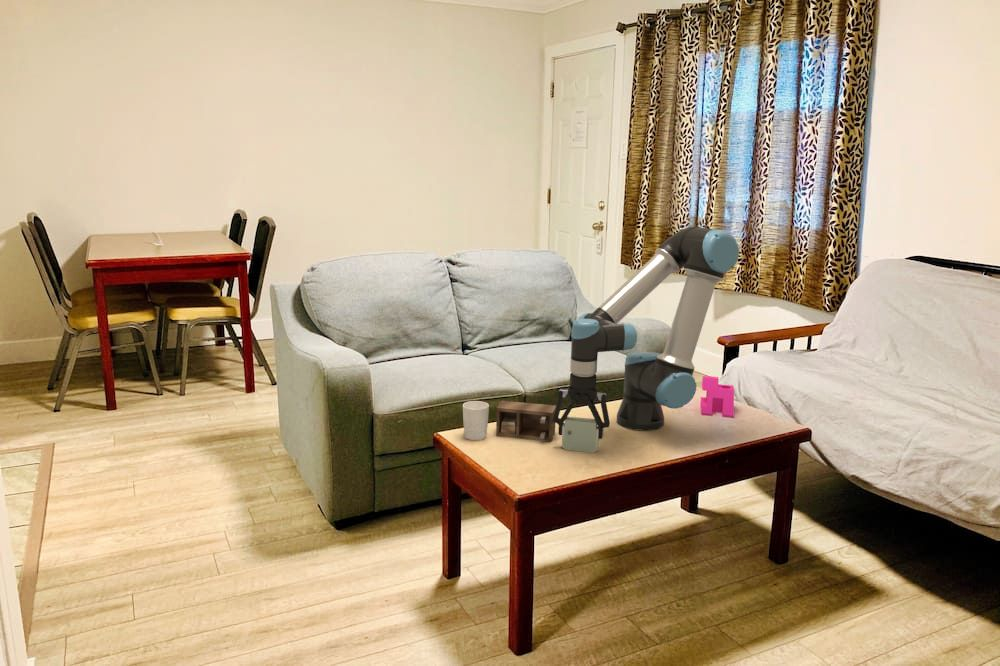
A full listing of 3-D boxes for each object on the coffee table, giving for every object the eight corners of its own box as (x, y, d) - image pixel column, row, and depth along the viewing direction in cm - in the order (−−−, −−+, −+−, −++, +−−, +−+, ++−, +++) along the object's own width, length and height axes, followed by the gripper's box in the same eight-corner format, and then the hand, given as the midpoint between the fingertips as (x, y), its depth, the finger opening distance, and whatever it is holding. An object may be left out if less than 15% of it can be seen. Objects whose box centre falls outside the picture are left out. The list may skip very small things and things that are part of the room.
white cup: (489, 432, 235) (490, 401, 233) (486, 441, 228) (487, 409, 225) (464, 431, 236) (464, 400, 234) (460, 440, 228) (460, 408, 226)
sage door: (595, 448, 224) (597, 419, 222) (594, 453, 220) (595, 424, 218) (565, 445, 226) (566, 416, 224) (563, 450, 222) (564, 421, 220)
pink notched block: (700, 404, 266) (702, 375, 264) (731, 406, 264) (733, 378, 262) (701, 415, 255) (703, 385, 252) (733, 418, 253) (736, 388, 250)
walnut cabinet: (555, 433, 236) (556, 405, 233) (550, 444, 227) (551, 415, 224) (501, 428, 239) (501, 400, 237) (494, 438, 230) (494, 410, 228)
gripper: (622, 372, 220) (618, 446, 225) (547, 366, 224) (545, 438, 229) (620, 380, 212) (616, 455, 218) (543, 373, 217) (541, 448, 222)
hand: (579, 447), depth 224 cm, fingers closed on sage door, 9 cm apart
